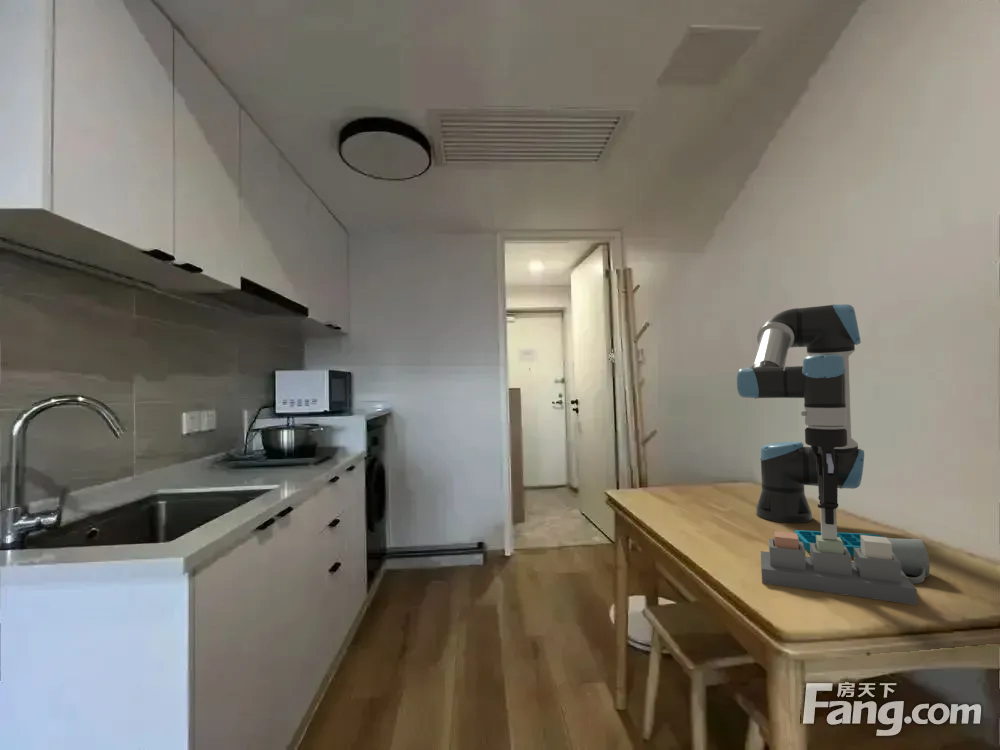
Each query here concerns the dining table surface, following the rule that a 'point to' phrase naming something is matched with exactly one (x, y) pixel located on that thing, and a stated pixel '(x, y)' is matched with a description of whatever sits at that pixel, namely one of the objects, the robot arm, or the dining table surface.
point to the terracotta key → (786, 540)
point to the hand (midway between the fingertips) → (829, 538)
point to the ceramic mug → (912, 558)
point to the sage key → (829, 545)
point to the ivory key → (876, 547)
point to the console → (837, 573)
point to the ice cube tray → (847, 538)
